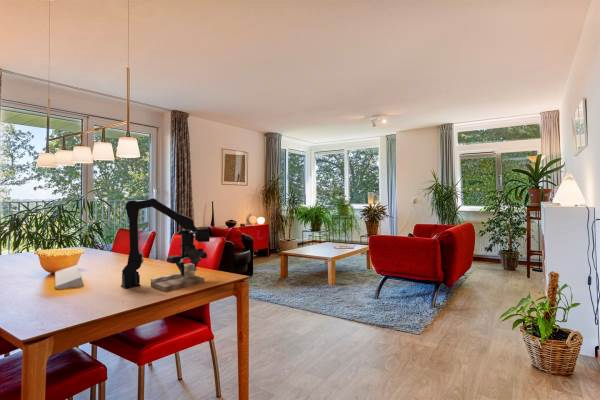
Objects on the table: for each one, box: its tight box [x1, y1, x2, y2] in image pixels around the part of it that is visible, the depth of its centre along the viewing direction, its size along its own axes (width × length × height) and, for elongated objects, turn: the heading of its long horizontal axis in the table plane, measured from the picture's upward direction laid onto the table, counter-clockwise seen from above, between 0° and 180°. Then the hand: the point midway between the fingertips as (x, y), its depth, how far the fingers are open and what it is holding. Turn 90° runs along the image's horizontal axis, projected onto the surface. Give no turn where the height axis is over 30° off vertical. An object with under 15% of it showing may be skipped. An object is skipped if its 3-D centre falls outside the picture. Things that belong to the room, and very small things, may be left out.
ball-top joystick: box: [181, 262, 198, 278], centre depth 162 cm, size 5×9×6 cm, turn 49°
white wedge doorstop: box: [54, 264, 85, 290], centre depth 167 cm, size 34×5×10 cm
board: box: [150, 272, 205, 293], centre depth 158 cm, size 20×13×4 cm, turn 139°
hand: (187, 274), depth 164 cm, fingers closed on ball-top joystick, 5 cm apart
